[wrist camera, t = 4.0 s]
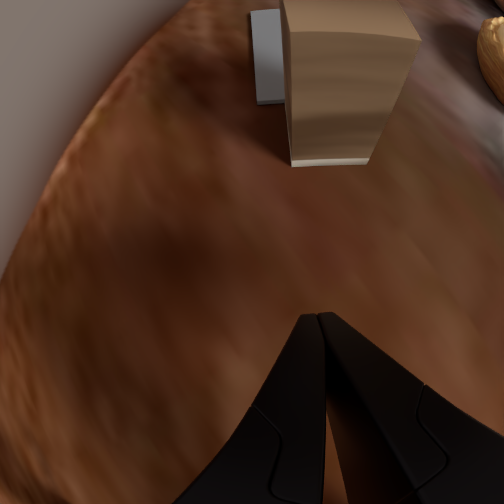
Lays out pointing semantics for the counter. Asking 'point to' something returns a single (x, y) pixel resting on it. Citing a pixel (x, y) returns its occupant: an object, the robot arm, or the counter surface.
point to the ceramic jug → (500, 4)
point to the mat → (268, 56)
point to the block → (342, 75)
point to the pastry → (492, 54)
